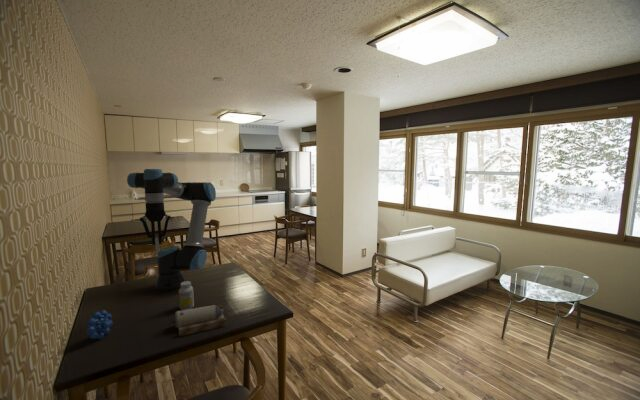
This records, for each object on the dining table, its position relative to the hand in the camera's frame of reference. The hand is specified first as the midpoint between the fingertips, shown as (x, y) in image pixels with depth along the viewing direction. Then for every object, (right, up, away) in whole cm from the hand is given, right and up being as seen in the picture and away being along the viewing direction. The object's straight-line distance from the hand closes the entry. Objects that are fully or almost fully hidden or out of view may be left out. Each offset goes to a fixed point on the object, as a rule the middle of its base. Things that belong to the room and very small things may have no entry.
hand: (157, 251), depth 137 cm
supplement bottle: (+10, -30, +8) cm, 33 cm away
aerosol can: (+14, -28, -12) cm, 33 cm away
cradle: (+24, -31, -6) cm, 40 cm away
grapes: (-12, -33, -19) cm, 40 cm away
